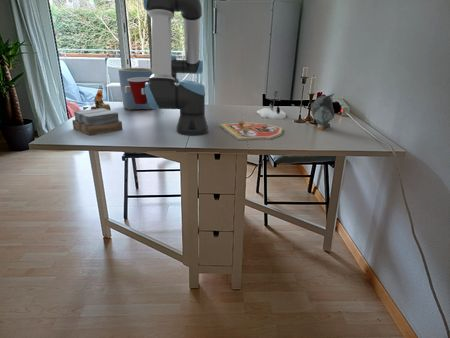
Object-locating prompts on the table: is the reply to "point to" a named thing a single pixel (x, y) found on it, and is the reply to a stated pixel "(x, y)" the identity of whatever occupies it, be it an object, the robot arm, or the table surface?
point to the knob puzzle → (251, 130)
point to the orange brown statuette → (100, 101)
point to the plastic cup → (138, 89)
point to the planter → (123, 76)
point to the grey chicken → (322, 111)
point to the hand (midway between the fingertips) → (133, 90)
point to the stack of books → (96, 121)
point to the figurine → (272, 110)
